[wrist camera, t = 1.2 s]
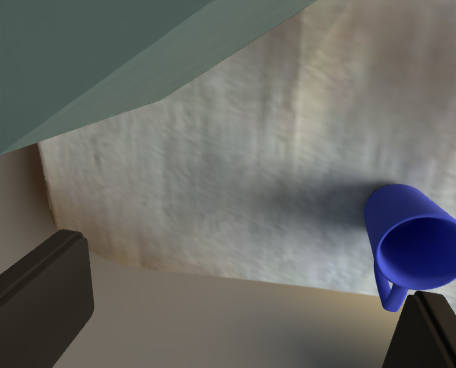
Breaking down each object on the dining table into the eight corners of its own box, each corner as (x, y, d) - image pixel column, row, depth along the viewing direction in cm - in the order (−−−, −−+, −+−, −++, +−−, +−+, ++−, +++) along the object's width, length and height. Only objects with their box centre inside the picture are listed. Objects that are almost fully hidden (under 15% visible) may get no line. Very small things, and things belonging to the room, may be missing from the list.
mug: (338, 254, 43) (351, 309, 34) (368, 168, 38) (391, 204, 29) (404, 269, 42) (434, 329, 33) (442, 183, 37) (490, 225, 28)
